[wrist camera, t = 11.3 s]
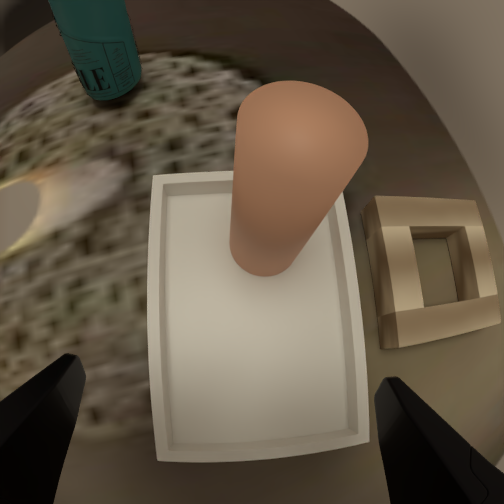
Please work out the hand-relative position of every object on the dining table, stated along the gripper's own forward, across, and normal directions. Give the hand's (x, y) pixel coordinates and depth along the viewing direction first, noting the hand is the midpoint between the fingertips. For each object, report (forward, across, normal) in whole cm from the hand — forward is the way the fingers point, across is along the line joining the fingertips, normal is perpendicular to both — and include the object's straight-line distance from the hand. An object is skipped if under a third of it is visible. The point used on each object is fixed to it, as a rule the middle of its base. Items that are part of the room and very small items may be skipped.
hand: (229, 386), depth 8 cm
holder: (+15, -16, +4) cm, 22 cm away
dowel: (+15, -2, +3) cm, 16 cm away
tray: (+12, -1, +7) cm, 14 cm away
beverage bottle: (+28, +14, -8) cm, 32 cm away
